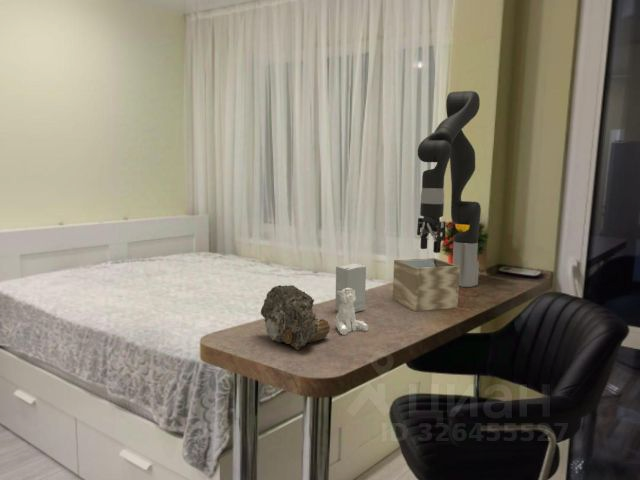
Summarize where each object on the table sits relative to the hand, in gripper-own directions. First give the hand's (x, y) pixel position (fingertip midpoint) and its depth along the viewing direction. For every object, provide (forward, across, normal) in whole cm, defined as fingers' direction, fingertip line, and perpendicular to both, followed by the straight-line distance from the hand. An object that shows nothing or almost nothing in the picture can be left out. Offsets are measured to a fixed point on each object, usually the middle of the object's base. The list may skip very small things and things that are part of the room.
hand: (430, 250), depth 174 cm
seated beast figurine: (+19, -18, +36) cm, 44 cm away
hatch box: (+19, +2, 0) cm, 19 cm away
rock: (+19, -24, +52) cm, 60 cm away
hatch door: (+10, +5, 0) cm, 11 cm away
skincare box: (+19, 0, +28) cm, 34 cm away
